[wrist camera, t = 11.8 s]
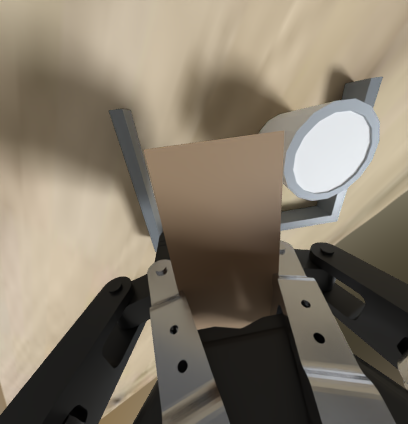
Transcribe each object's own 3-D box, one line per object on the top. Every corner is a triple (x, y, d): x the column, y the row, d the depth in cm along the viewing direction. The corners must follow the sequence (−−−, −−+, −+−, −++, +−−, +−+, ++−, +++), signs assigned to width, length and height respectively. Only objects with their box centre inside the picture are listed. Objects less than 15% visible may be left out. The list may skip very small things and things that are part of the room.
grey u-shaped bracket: (119, 111, 15) (108, 110, 13) (355, 82, 16) (382, 76, 14) (157, 238, 22) (155, 251, 20) (322, 211, 23) (337, 221, 21)
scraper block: (165, 148, 10) (143, 149, 5) (231, 138, 10) (284, 130, 5) (187, 258, 13) (189, 339, 8) (238, 249, 13) (276, 322, 8)
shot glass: (312, 164, 20) (372, 185, 13) (254, 183, 20) (287, 212, 14) (313, 94, 16) (393, 81, 10) (244, 119, 17) (281, 119, 10)
